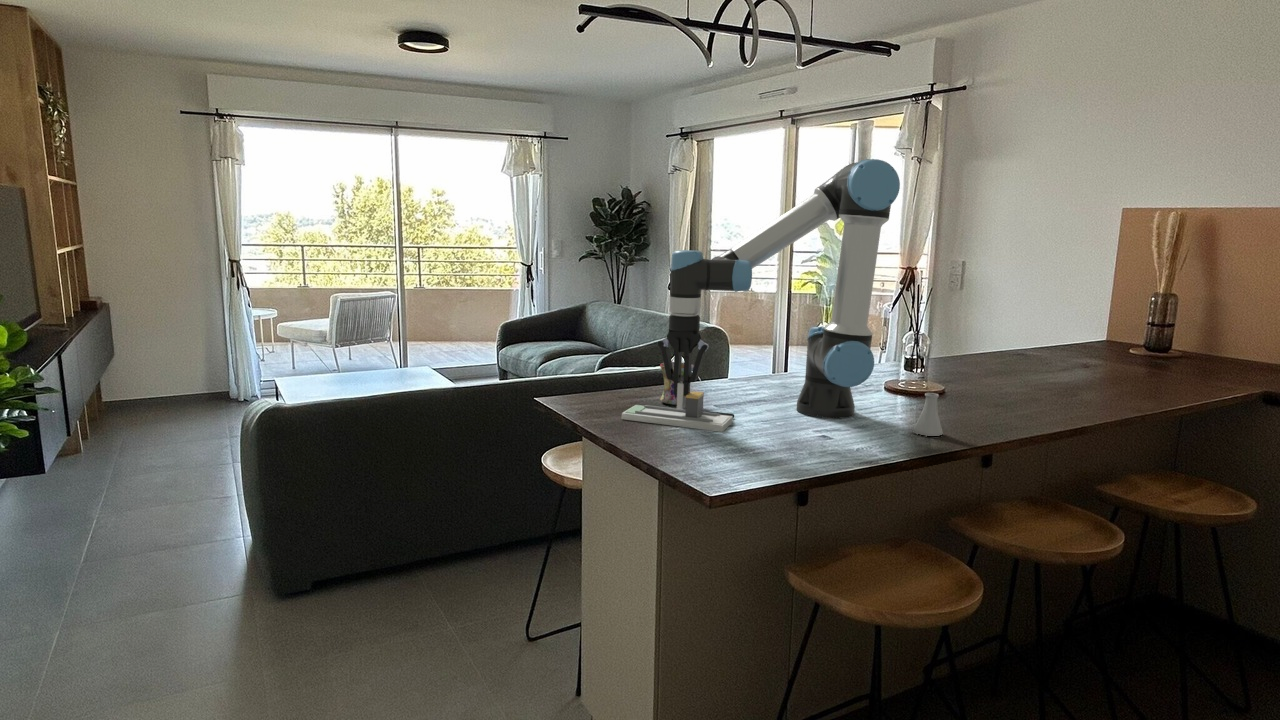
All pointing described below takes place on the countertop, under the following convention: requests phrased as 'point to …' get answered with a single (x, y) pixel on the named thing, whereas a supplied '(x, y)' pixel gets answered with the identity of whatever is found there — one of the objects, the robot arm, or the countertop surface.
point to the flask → (929, 418)
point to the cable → (714, 412)
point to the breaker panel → (677, 417)
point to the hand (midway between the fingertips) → (681, 408)
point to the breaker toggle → (694, 404)
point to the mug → (670, 386)
